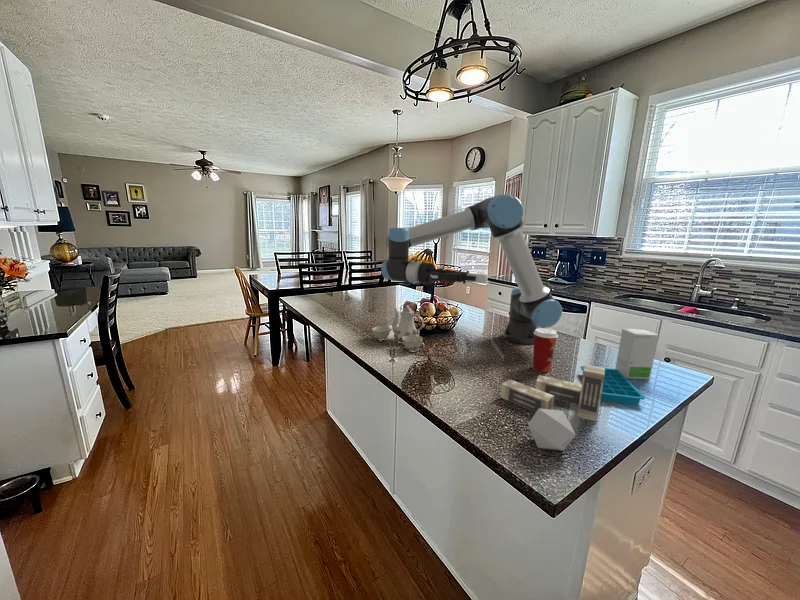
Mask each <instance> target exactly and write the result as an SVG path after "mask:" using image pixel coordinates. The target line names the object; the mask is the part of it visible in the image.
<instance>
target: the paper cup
mask: <svg viewBox="0 0 800 600" xmlns="http://www.w3.org/2000/svg"><path fill="white" fill-rule="evenodd" d="M558 337H559V334H558V333H557V331H556V330H554V329H552V328H542V327H538V328H537V329H535V332H534V344H533V356H532V357H533V359H532V368H533V370H535V371H537V372H541V373H549V372H551V368H552V363H553V358H554V355H555V354H554V353H555V347H556V342H557V338H558Z"/></svg>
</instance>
